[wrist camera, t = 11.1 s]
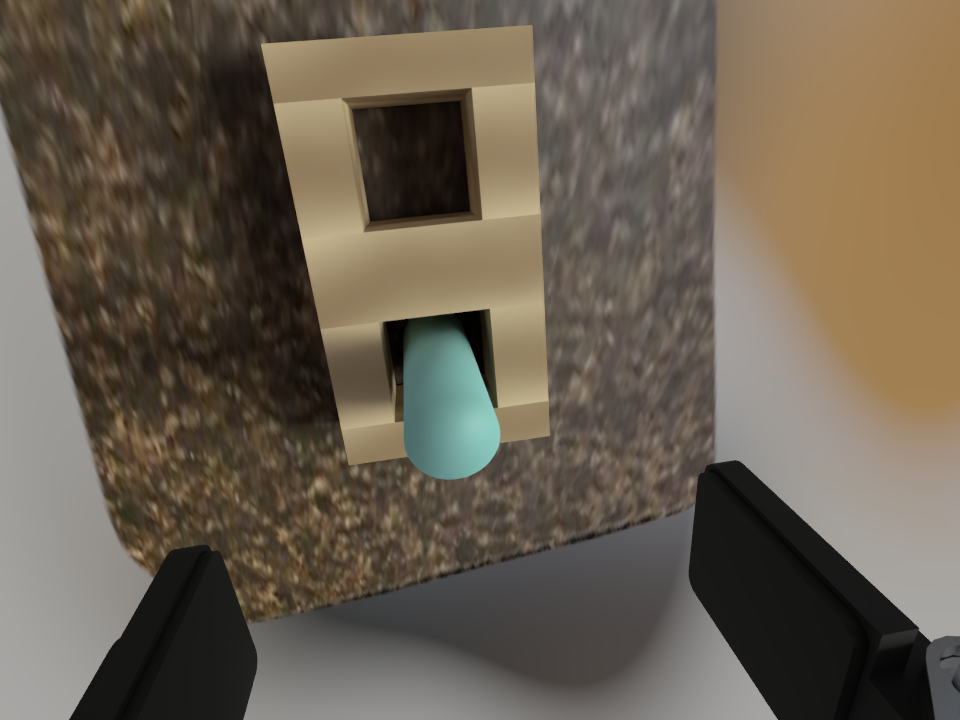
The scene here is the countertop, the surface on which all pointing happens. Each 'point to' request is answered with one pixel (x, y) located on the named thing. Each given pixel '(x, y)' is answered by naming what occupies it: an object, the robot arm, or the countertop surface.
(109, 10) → the countertop surface
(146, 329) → the countertop surface
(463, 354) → the peg
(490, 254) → the hole block
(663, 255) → the countertop surface
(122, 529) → the countertop surface
